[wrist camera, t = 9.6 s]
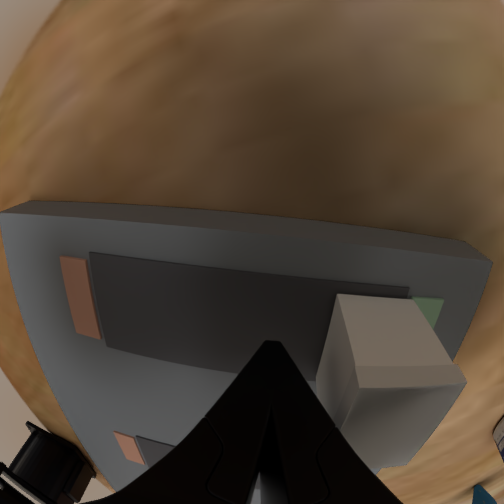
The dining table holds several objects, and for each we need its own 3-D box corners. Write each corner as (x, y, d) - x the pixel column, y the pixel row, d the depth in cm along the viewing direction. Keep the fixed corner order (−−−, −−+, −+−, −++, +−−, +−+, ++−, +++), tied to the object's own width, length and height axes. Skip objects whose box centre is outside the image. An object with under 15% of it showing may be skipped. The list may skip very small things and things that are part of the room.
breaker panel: (132, 490, 21) (126, 505, 19) (29, 200, 10) (-4, 213, 9) (314, 519, 19) (313, 536, 17) (465, 241, 9) (494, 263, 7)
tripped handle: (314, 378, 9) (318, 470, 6) (335, 291, 8) (359, 387, 5) (383, 380, 9) (406, 465, 6) (415, 298, 8) (467, 381, 4)
